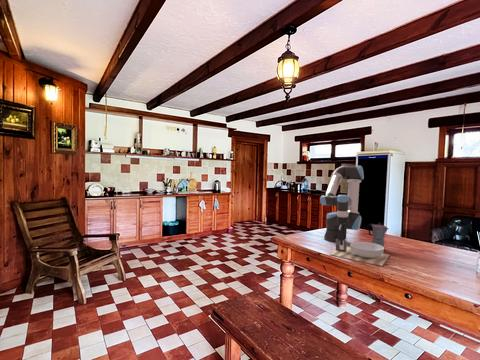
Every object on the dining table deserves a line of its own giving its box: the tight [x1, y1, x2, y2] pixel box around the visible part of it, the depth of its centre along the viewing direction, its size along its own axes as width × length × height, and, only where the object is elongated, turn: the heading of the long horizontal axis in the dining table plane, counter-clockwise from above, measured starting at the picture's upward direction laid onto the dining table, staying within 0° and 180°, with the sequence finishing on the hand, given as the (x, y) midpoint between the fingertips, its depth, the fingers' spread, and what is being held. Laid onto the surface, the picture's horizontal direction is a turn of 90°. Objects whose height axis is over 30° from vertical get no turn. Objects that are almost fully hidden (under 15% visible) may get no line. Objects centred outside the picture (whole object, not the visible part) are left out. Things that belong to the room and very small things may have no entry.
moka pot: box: [367, 222, 389, 248], centre depth 190 cm, size 10×15×20 cm, turn 39°
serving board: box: [329, 239, 390, 267], centre depth 174 cm, size 32×25×9 cm
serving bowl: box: [349, 241, 385, 258], centre depth 171 cm, size 21×21×7 cm
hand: (342, 248), depth 182 cm, fingers closed on serving board, 2 cm apart
